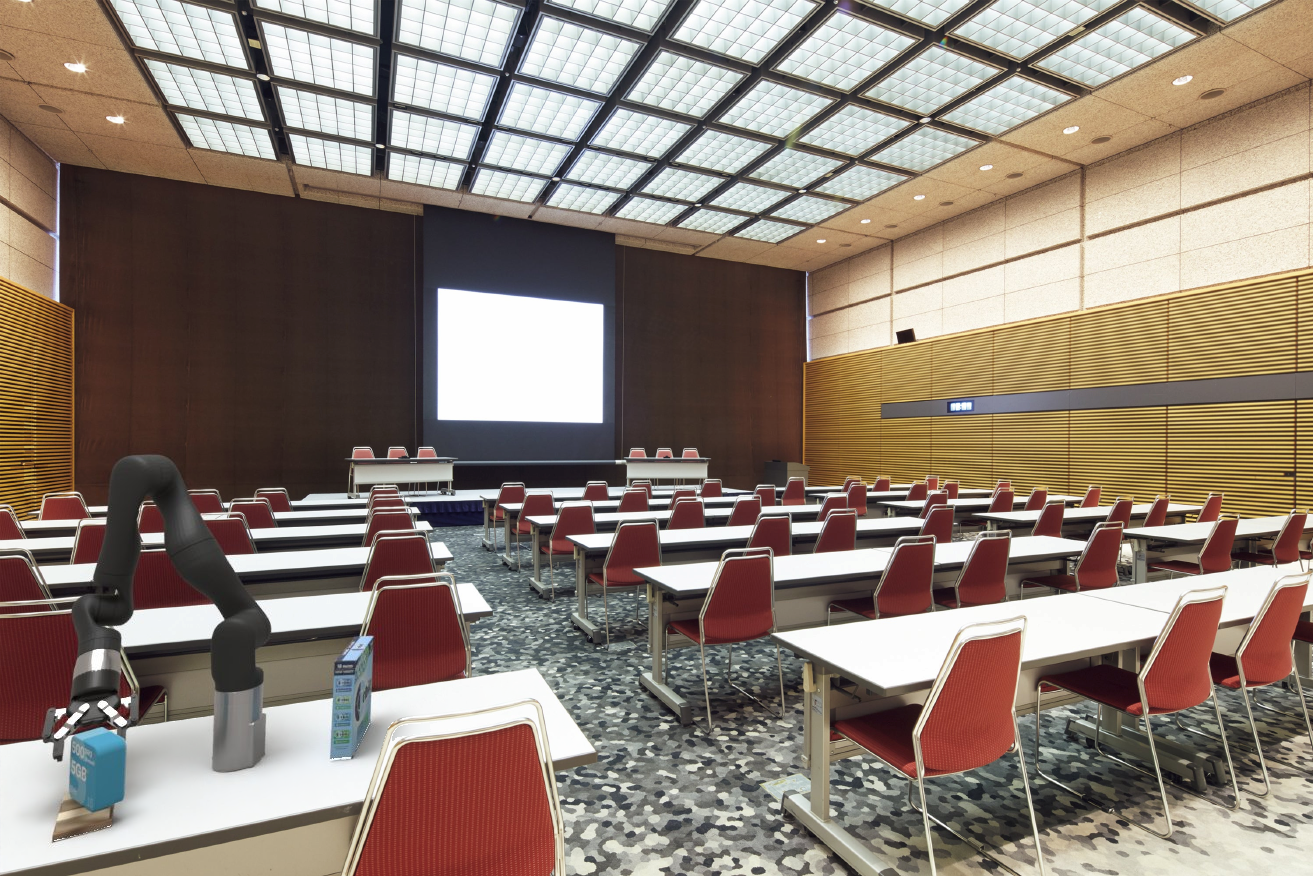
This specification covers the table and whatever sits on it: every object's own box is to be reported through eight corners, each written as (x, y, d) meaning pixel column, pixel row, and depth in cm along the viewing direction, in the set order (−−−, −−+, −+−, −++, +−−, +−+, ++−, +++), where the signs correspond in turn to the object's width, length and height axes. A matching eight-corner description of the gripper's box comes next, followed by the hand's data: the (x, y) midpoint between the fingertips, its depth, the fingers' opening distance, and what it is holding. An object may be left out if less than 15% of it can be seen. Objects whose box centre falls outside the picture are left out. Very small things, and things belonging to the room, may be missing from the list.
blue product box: (350, 725, 162) (353, 636, 163) (372, 724, 163) (374, 635, 164) (329, 762, 143) (332, 660, 144) (353, 760, 144) (356, 659, 145)
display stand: (115, 796, 128) (116, 780, 128) (111, 826, 117) (112, 809, 117) (61, 809, 123) (62, 792, 123) (52, 842, 112) (52, 824, 112)
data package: (68, 796, 121) (70, 733, 122) (97, 785, 125) (100, 725, 126) (94, 814, 116) (97, 748, 116) (124, 803, 119) (127, 739, 120)
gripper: (48, 675, 125) (37, 755, 116) (141, 661, 134) (137, 735, 125) (51, 693, 129) (40, 773, 120) (140, 679, 138) (136, 752, 129)
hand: (89, 753), depth 122 cm, fingers open, 8 cm apart
